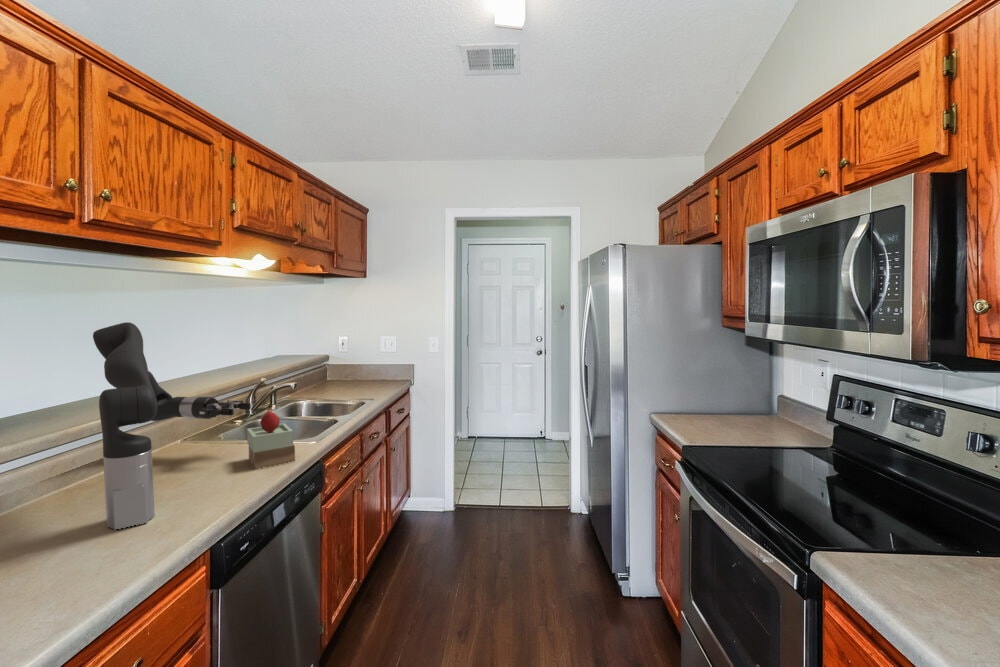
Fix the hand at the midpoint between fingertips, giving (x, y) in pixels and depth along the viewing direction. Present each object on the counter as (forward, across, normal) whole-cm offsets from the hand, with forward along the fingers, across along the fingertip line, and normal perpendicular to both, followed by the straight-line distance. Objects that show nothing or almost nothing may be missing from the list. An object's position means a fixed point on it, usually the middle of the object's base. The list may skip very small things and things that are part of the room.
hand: (241, 409), depth 156 cm
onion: (+11, 0, +8) cm, 13 cm away
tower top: (+10, 0, +12) cm, 16 cm away
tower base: (+11, 0, +18) cm, 21 cm away
